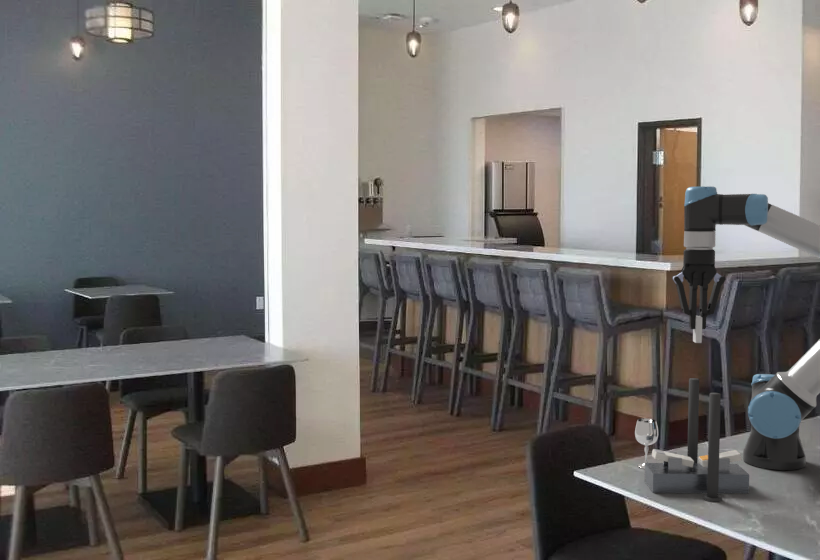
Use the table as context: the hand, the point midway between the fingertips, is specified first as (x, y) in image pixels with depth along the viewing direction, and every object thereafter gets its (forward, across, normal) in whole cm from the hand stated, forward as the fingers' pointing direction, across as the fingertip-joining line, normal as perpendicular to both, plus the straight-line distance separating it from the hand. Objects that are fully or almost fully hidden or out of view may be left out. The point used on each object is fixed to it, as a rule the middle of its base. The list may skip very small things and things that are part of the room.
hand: (697, 342), depth 228 cm
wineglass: (+33, +12, -1) cm, 35 cm away
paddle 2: (+25, -2, +16) cm, 30 cm away
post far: (+32, +2, +7) cm, 33 cm away
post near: (+32, +2, +25) cm, 41 cm away
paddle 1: (+25, +10, +16) cm, 31 cm away
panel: (+32, +4, +16) cm, 36 cm away
